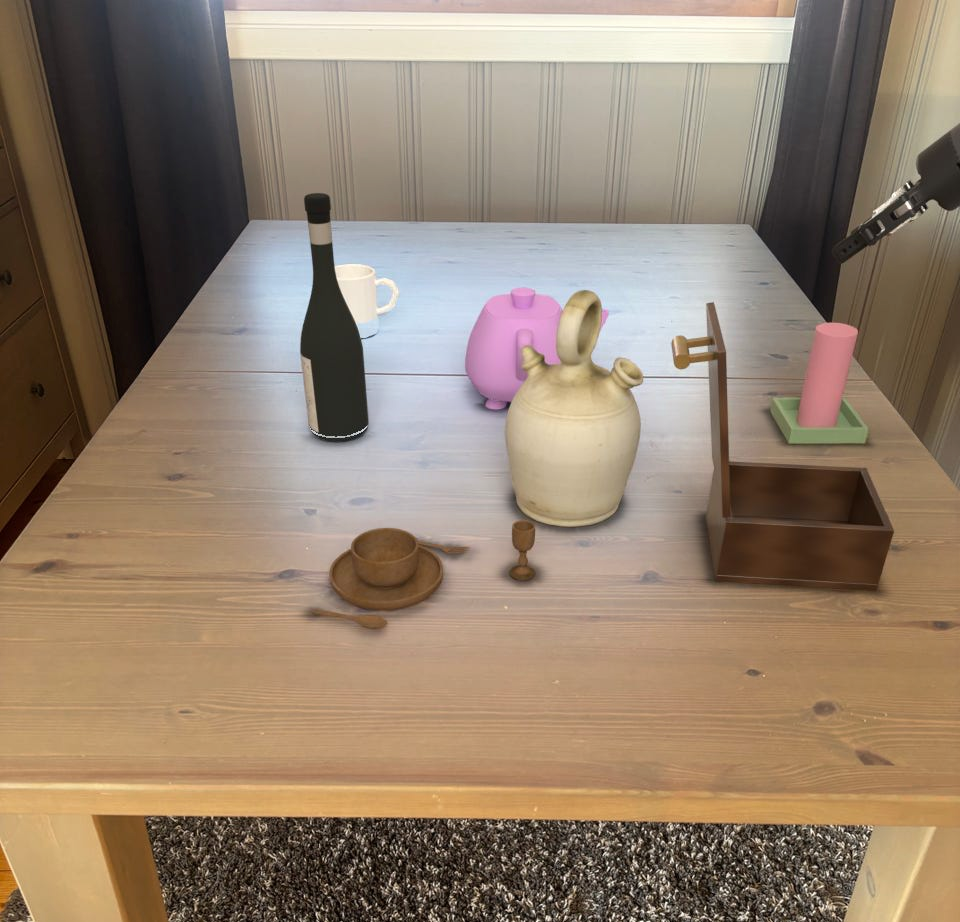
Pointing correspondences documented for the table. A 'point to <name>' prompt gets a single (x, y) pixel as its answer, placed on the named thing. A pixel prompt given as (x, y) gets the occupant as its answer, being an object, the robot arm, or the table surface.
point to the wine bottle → (330, 341)
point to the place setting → (402, 570)
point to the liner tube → (826, 375)
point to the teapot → (511, 342)
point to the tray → (845, 431)
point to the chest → (799, 527)
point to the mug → (363, 291)
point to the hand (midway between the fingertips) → (845, 248)
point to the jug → (573, 425)
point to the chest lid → (712, 396)
